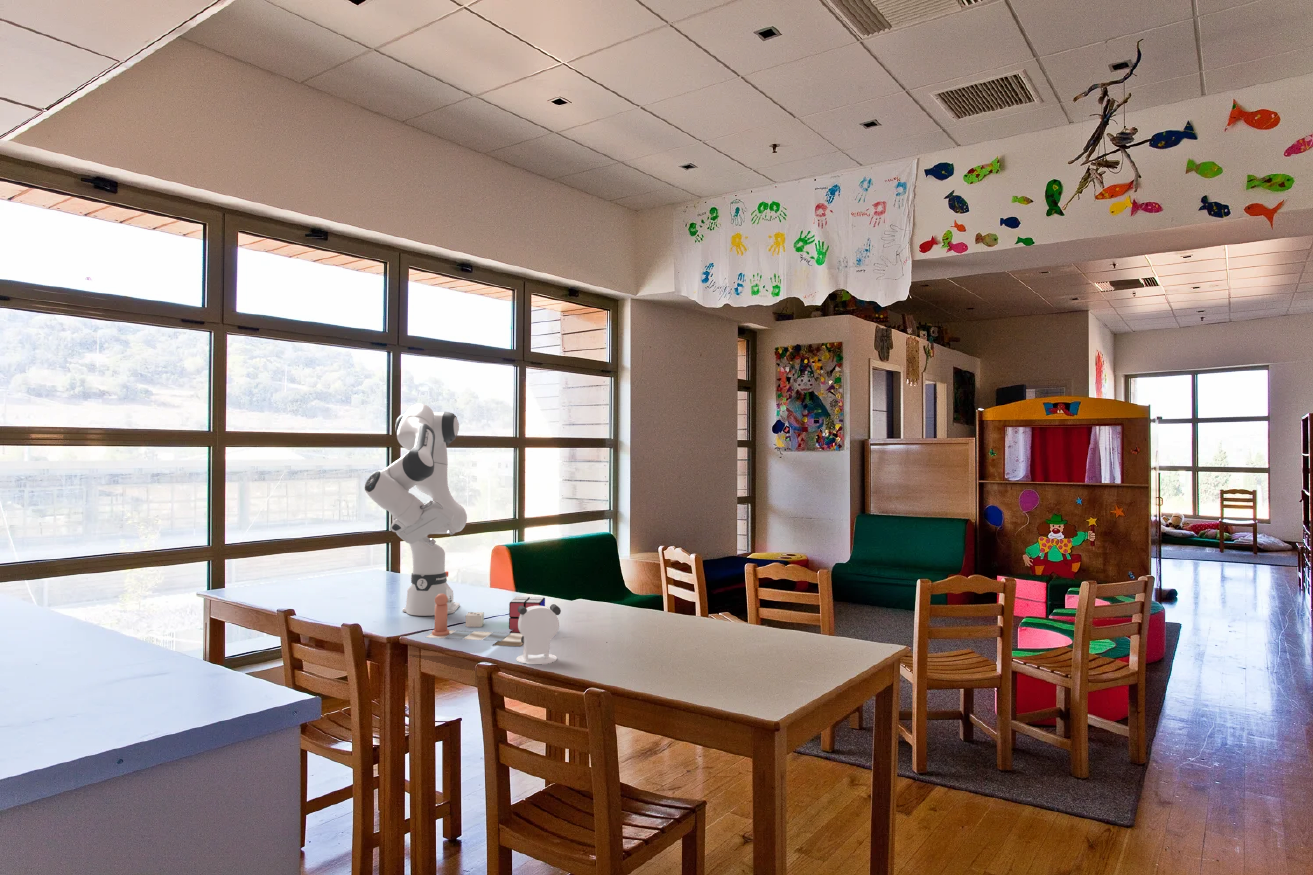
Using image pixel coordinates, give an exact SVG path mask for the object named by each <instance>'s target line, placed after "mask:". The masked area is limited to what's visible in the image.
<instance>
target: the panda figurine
mask: <svg viewBox="0 0 1313 875" xmlns="http://www.w3.org/2000/svg"><path fill="white" fill-rule="evenodd" d="M518 612H519V613H520V617H519V620H518V629H519V631H520V633H521V634H522V635H523V636H522V638H521V642H522V643H523V644H522V645H523V651H522V654H521V655H518V656H516V658H515V660H516V662H517V661H518V662H517V663H519V662H521V663H520V664H522V663H528V664H542V665H549V664H552V662H553V663H555V662H556V661H557V660H558V657H557V656H556V655H554V654H552V653H550V648H551V640H552V639H553V638H554V637H555V636H556V635H557V633H558V632H559V629H560V621H559V618H558V616H560V614H561V612H562V610H561V608H560V607H559V606H558V605H556V604H555V603H553V604H551V605H550V606H549V607H547V606H546V605H545V606H531V607H528V608H525V607H524V606H519V607H518ZM548 663H549V664H548Z"/></svg>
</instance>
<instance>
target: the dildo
mask: <svg viewBox="0 0 1313 875" xmlns="http://www.w3.org/2000/svg"><path fill="white" fill-rule="evenodd" d="M447 602H448V597H447V596H446V595H445V594H443V593H441V594H438V595H437V596H436V597H435V603H436V605H435V615H434V629H433V630H432V631H431V634H432V635H435V636H444V635H448V634H449V630H450V629H448V614H447V611H448V604H447ZM449 635H450V634H449ZM449 635H448V636H449Z"/></svg>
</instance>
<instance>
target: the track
mask: <svg viewBox="0 0 1313 875" xmlns="http://www.w3.org/2000/svg"><path fill="white" fill-rule="evenodd" d="M522 636H523V635H522V634H521V633H509V632H500V631H498V632H497V631H493V632H492V631H474V630H473V631H472V630H453V629H452V630H450V629H449V634H448V635H444V636H435V635H432V633H430V634H429V635H427V636H425V638H428V639H447V640H449V639H451V640H473V641H496V642H494V643H493V644H492V646H508V647H522V645H524V644H523V643H522V642H521V638H522Z"/></svg>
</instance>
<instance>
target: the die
mask: <svg viewBox="0 0 1313 875" xmlns="http://www.w3.org/2000/svg"><path fill="white" fill-rule="evenodd" d="M484 615H485V612H482V611H481V612H468V613H466V615H465V627H466V628H474V627H475V628H477V627H478V628H479V627H480V628H481V627H482V626H484V624H485V622H484V621H485V620H484V618H485V616H484Z"/></svg>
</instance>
